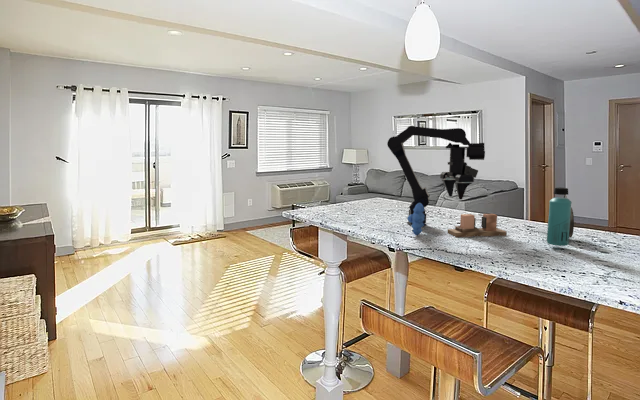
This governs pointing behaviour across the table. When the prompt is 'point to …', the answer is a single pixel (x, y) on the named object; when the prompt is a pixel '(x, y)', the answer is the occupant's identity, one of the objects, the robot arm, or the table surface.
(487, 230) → the rail
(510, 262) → the table surface
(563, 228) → the beverage bottle
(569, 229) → the alarm clock
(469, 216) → the salmon and grey block
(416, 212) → the grapes
